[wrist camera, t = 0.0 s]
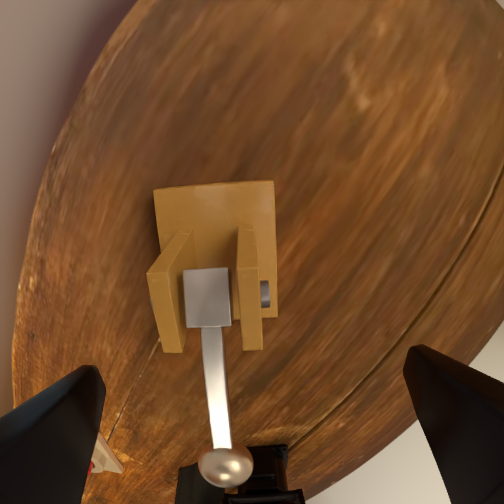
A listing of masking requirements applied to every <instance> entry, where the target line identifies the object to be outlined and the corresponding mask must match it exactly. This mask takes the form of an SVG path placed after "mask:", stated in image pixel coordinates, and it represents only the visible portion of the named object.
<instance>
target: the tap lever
mask: <svg viewBox="0 0 504 504" xmlns="http://www.w3.org/2000/svg"><path fill="white" fill-rule="evenodd" d="M183 287H184V304H185V318H186V327H187V328H200V333H201V346H202V357H203V368H204V378H205V388H206V397H207V406H208V414H209V423H210V431H211V438H212V442H211V443H209V444H208V445H207V446H205V447H204V449H203V450H202V451H201V453H200V455H199V459H198V467H199V470H200V473H201V475H202V476H203V477H204V479H205V480H206V481H208V482H209V483H210V484H212V485H214V486H217V487H221V488H232V487H236V486H239V485H241V484H243V483H244V482H245V481H246V480H247V479H248V478H249V477H250V475H251V473H252V471H253V458H252V455H251V453H250V452H249V450H248V449H247V448H246V447H245V446H244V445H242V444H241V443H239V442H237V441H234V440H233V432H232V422H231V412H230V401H229V390H228V378H227V366H226V354H225V341H224V327H231V326H232V324H233V322H234V306H233V290H232V273H231V270H230V269H229V268H228V267H222V268H205V269H186V270H183Z"/></svg>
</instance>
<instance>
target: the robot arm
mask: <svg viewBox="0 0 504 504" xmlns="http://www.w3.org/2000/svg"><path fill="white" fill-rule="evenodd" d="M403 375H404V378H405V381H406V384H407V387H408V390H409V393H410V396H411V399H412V403H413V406H414V409H415V412H416V415H417V417H418V420H419V422H420V424H421V427H422V429H423V431H424V434H425V436H426V438H427V441H428V443H429V446H430V448H431V451H432V453H433V456H434V458H435V461H436V463H437V466H438V468H439V471H440V474H441V476H442V479H443V481H444V484H445V487H446V490H447V492H448V495H449V498H450V501H451V504H504V383H503V382H500V381H499V380H497V379H494V378H492V377H490V376H488V375H486V374H484V373H482V372H480V371H478V370H475V369H473V368H471V367H469V366H467V365H465V364H463V363H461V362H459V361H457V360H454V359H452V358H450V357H448V356H446V355H444V354H442V353H440V352H438V351H436V350H434V349H431V348H429V347H427V346H425V345H423V344H420V345H416V346H412V347H410V348H409V350H408V353H407V357H406V360H405V364H404V367H403ZM105 396H106V387H105V384H104V382H103V379H102V377H101V375H100V373H99V370H98V368H97V367H96V366H94V365H82V366H80V367H79V368H77V369H76V370H74V371H73V372H71V373H70V374H68V375H66V376H65V377H63V378H62V379H60V380H59V381H57V382H55V383H54V384H52V385H51V386H49V387H48V388H46V389H45V390H43V391H41V392H40V393H38V394H37V395H35V396H34V397H32V398H31V399H29V400H27V401H26V402H24V403H23V404H21V405H20V406H18V407H16V408H15V409H13V410H12V411H10V412H9V413H7V414H5V415H4V416H2V417H1V418H0V504H81V500H82V495H83V491H84V487H85V483H86V479H87V474H88V471H89V467H90V463H91V459H92V455H93V452H94V448H95V445H96V441H97V437H98V433H99V428H100V422H101V417H102V411H103V406H104V401H105ZM246 448H247V449H248V450H249V452H250V453H251V455H252V458H253V471H252V473H251V475H250V477H249V478H248V479H247V480H246V481H245V482H244V483H243V484H241V485H239V486H238V494H229V493H224V496H223V498H221V499H220V504H305V500H304V496H303V491H302V489H297V490H291V491H288V486H287V478H286V470H287V458H288V446H287V445H274V446H261V447H246Z"/></svg>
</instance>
